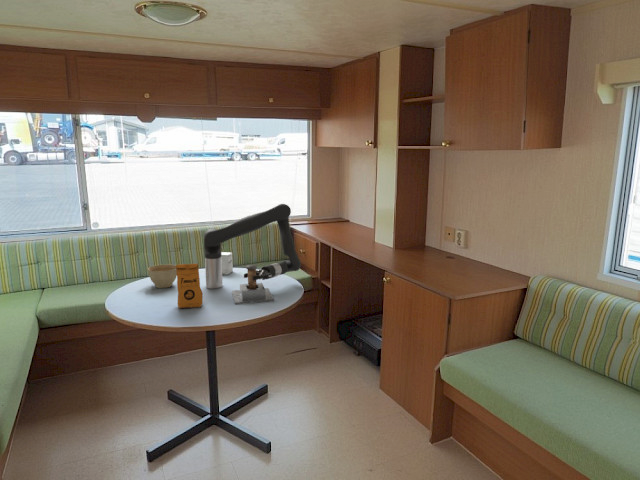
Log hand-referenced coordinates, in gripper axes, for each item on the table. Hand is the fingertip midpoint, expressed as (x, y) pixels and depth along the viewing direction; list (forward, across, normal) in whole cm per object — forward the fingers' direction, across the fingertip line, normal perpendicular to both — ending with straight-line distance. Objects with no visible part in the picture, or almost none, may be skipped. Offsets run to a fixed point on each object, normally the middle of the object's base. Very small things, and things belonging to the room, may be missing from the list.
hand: (248, 277), depth 240 cm
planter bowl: (+18, -53, +12) cm, 57 cm away
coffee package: (+28, -13, +12) cm, 33 cm away
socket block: (-2, 0, +11) cm, 12 cm away
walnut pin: (-2, 0, +10) cm, 11 cm away
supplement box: (-23, -49, +12) cm, 55 cm away
